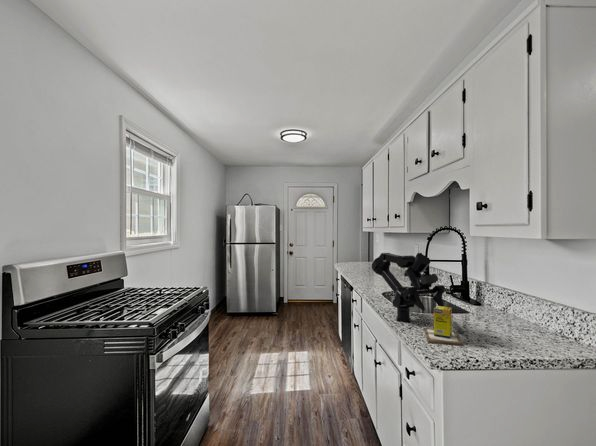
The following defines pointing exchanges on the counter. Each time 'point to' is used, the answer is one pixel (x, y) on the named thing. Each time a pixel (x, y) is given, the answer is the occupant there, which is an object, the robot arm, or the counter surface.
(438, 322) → the supplement box
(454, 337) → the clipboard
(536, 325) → the counter surface
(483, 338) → the counter surface
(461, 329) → the dark grey rod
